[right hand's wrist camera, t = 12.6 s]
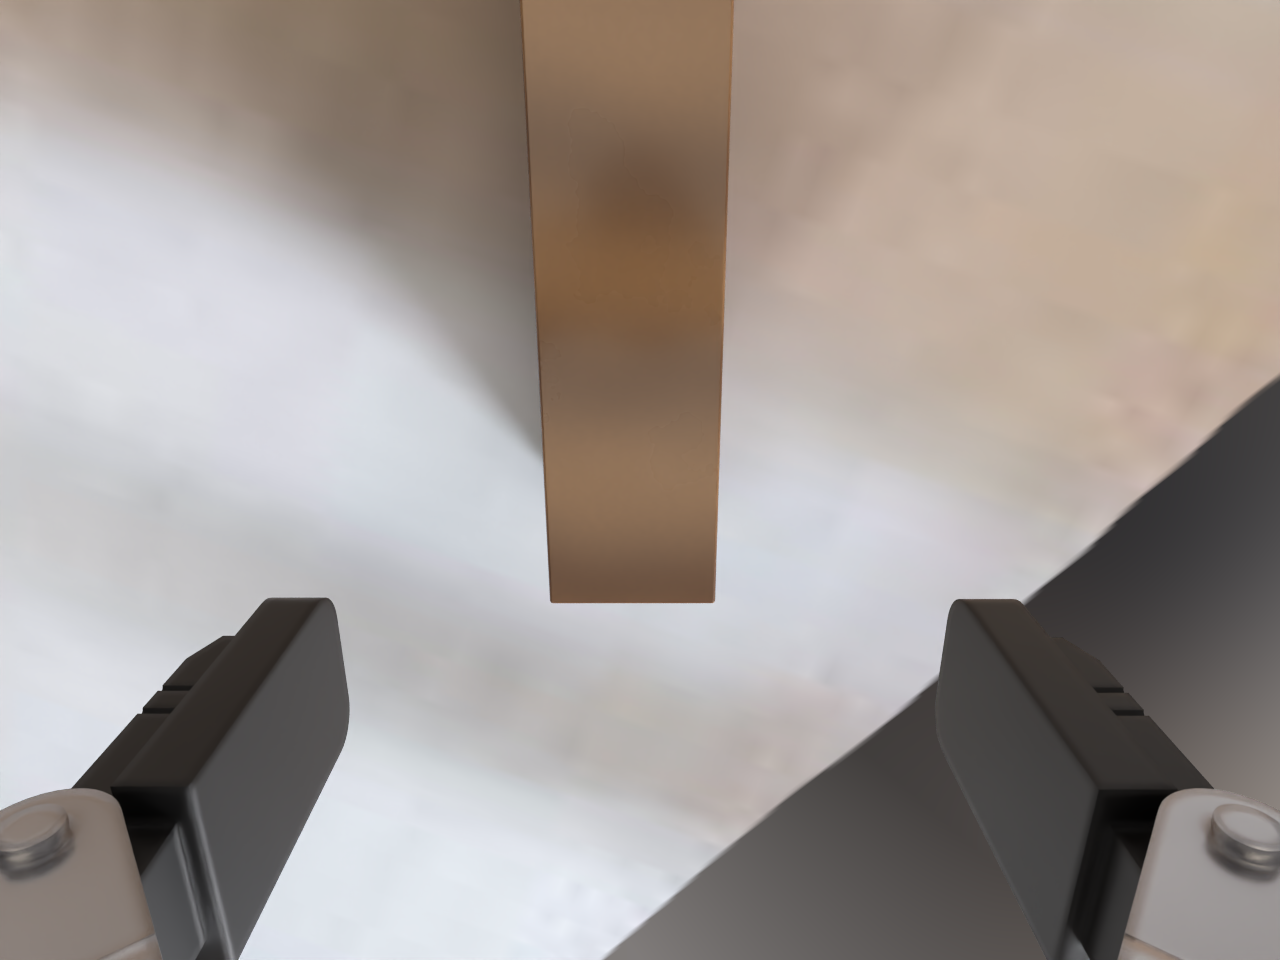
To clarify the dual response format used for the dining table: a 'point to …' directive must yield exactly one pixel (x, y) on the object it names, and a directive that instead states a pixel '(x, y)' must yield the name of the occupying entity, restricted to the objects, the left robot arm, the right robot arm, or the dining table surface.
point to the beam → (629, 288)
